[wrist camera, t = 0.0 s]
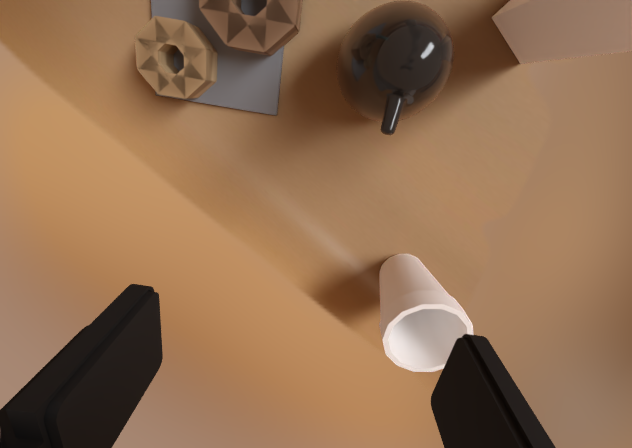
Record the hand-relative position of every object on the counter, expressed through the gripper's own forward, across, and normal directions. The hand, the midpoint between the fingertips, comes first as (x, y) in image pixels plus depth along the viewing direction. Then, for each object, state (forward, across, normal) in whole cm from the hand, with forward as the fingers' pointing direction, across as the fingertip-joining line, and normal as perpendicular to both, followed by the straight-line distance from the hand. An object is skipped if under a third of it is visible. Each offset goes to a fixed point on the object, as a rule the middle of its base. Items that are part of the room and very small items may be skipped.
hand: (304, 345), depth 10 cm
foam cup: (+31, -14, +15) cm, 38 cm away
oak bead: (+31, +16, -8) cm, 36 cm away
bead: (+31, +9, -14) cm, 35 cm away
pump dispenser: (+31, -5, -10) cm, 33 cm away
